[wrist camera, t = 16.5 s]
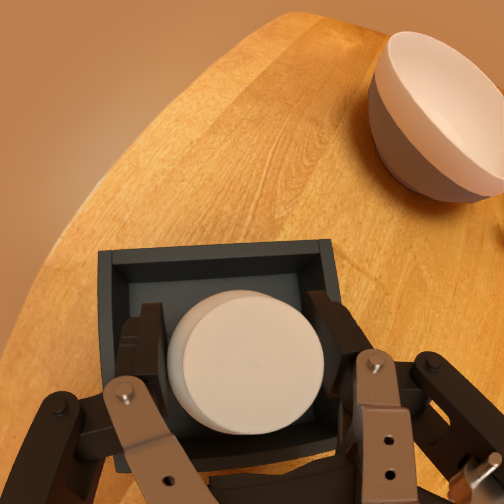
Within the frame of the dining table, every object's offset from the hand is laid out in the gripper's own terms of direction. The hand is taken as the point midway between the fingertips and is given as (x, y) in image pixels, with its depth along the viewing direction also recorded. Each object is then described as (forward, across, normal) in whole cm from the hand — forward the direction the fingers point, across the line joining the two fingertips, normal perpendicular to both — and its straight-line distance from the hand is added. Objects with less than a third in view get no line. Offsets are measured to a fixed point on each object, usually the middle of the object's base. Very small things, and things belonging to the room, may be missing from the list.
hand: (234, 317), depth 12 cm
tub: (+5, 0, +7) cm, 9 cm away
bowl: (+17, -20, -4) cm, 26 cm away
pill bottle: (+3, 0, +6) cm, 7 cm away
